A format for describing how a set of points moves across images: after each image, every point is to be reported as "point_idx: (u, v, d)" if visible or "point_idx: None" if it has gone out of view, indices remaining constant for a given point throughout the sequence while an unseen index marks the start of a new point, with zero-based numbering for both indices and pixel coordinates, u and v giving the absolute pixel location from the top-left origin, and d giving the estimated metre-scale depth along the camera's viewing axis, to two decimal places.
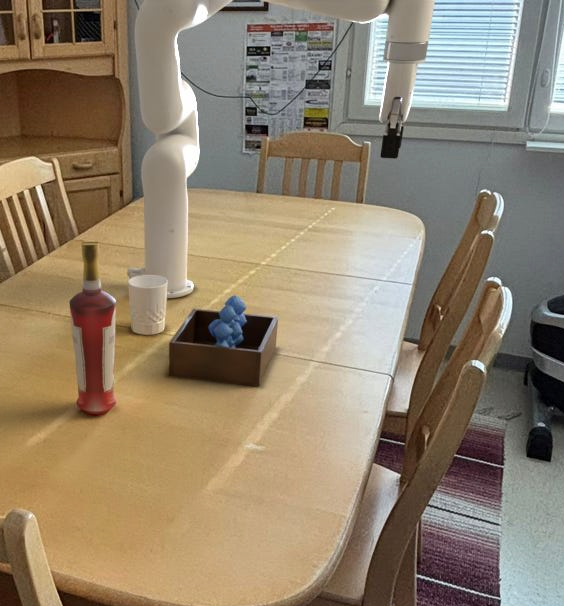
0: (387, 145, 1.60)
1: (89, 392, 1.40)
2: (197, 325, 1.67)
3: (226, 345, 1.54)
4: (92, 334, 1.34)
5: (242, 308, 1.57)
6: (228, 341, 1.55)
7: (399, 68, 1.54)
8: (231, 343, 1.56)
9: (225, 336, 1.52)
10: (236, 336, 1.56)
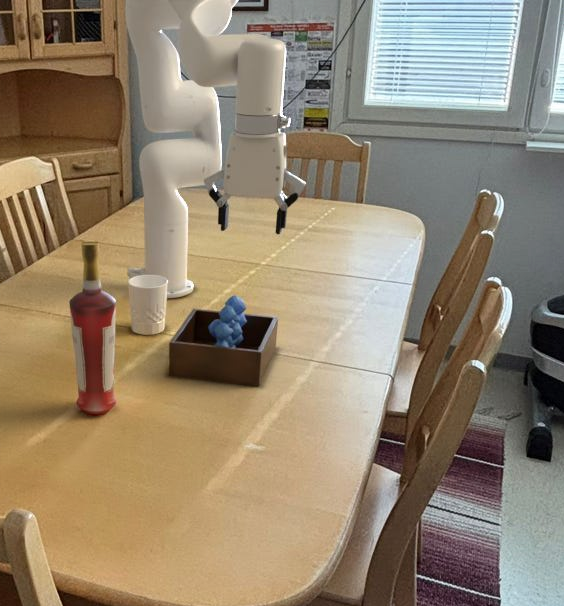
0: None
1: (89, 392, 1.40)
2: (197, 325, 1.67)
3: (226, 345, 1.54)
4: (92, 334, 1.34)
5: (242, 308, 1.57)
6: (228, 341, 1.55)
7: None
8: (231, 343, 1.56)
9: (225, 336, 1.52)
10: (236, 336, 1.56)
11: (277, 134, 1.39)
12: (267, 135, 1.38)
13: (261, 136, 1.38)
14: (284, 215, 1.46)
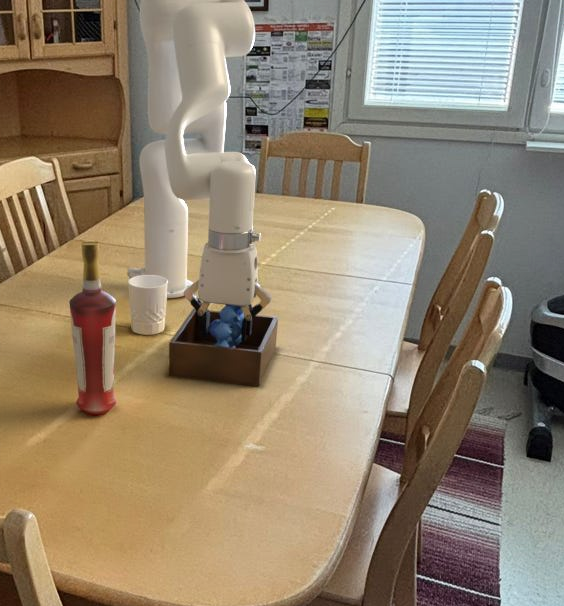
0: None
1: (89, 392, 1.40)
2: (197, 325, 1.67)
3: (226, 345, 1.54)
4: (92, 334, 1.34)
5: None
6: (228, 341, 1.55)
7: None
8: (231, 343, 1.56)
9: (225, 336, 1.52)
10: (236, 336, 1.56)
11: (248, 249, 1.47)
12: (238, 250, 1.45)
13: (232, 251, 1.45)
14: (249, 324, 1.54)
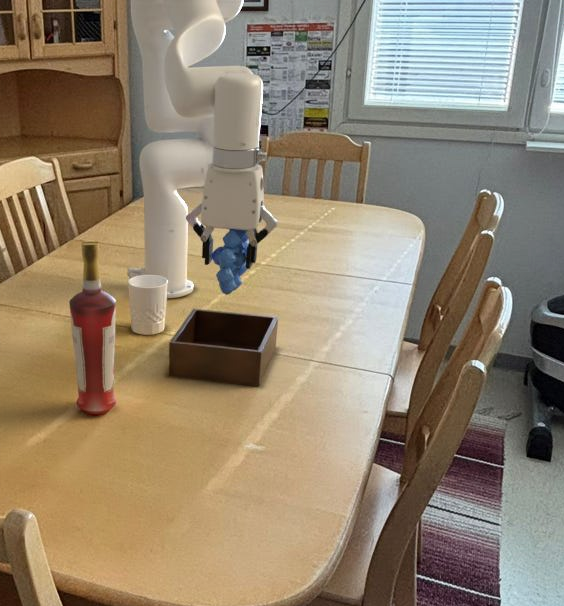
0: None
1: (89, 392, 1.40)
2: (197, 325, 1.67)
3: (230, 272, 1.47)
4: (92, 334, 1.34)
5: None
6: (232, 269, 1.49)
7: None
8: (235, 271, 1.50)
9: (229, 262, 1.46)
10: (240, 264, 1.49)
11: (254, 168, 1.40)
12: (243, 169, 1.39)
13: (237, 170, 1.39)
14: (254, 250, 1.48)
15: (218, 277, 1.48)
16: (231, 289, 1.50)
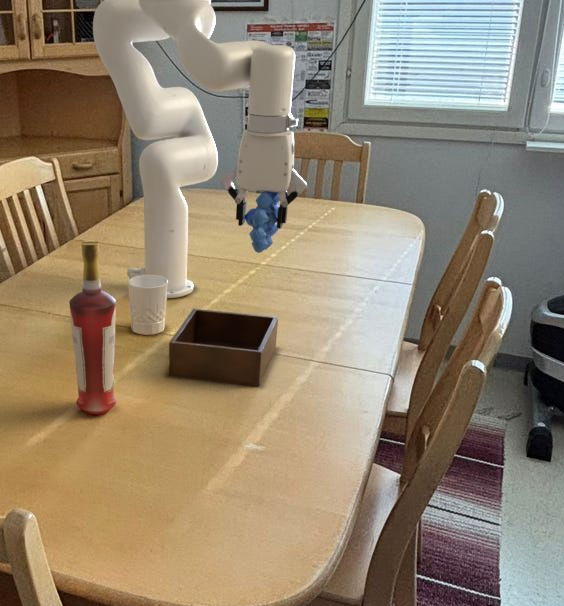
0: None
1: (89, 392, 1.40)
2: (197, 325, 1.67)
3: (262, 231, 1.59)
4: (92, 334, 1.34)
5: (278, 197, 1.62)
6: (264, 228, 1.60)
7: None
8: (267, 231, 1.62)
9: (262, 221, 1.58)
10: (272, 224, 1.61)
11: (286, 133, 1.52)
12: (276, 134, 1.51)
13: (271, 135, 1.51)
14: (285, 211, 1.60)
15: (251, 235, 1.60)
16: (263, 247, 1.62)
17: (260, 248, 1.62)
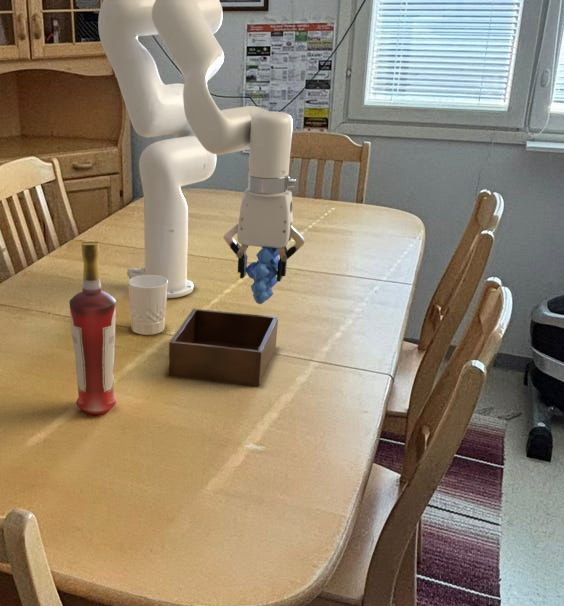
0: None
1: (89, 392, 1.40)
2: (197, 325, 1.67)
3: (263, 284, 1.67)
4: (92, 334, 1.34)
5: (277, 251, 1.70)
6: (265, 281, 1.68)
7: None
8: (267, 283, 1.69)
9: (263, 275, 1.66)
10: (272, 277, 1.69)
11: (284, 193, 1.60)
12: (275, 194, 1.59)
13: (270, 195, 1.59)
14: (284, 265, 1.68)
15: (253, 288, 1.67)
16: (264, 299, 1.70)
17: (261, 300, 1.69)
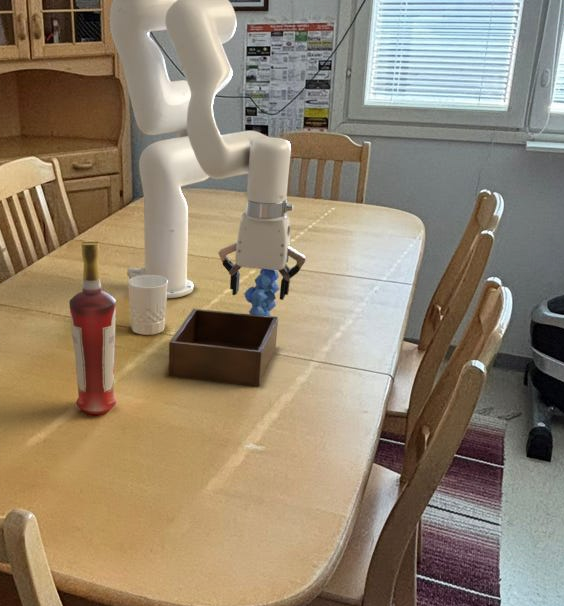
0: None
1: (89, 392, 1.40)
2: (197, 325, 1.67)
3: (261, 309, 1.70)
4: (92, 334, 1.34)
5: (275, 276, 1.73)
6: (263, 306, 1.71)
7: None
8: (265, 308, 1.72)
9: (261, 301, 1.68)
10: (270, 301, 1.72)
11: (282, 217, 1.63)
12: (273, 219, 1.61)
13: (268, 220, 1.61)
14: (287, 284, 1.70)
15: (251, 313, 1.70)
16: None
17: None
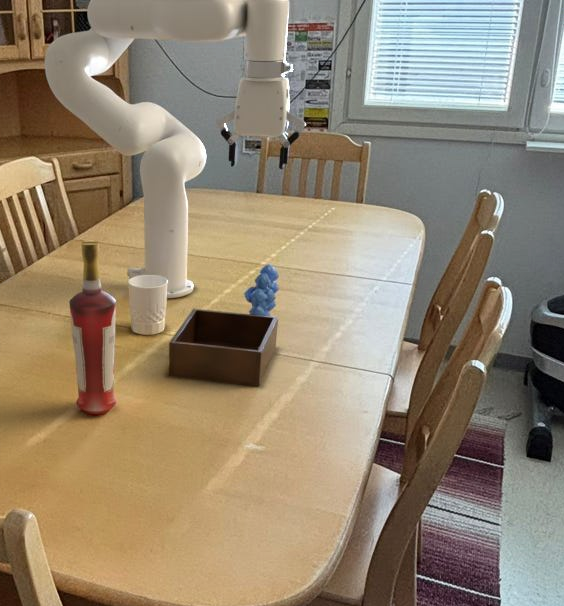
0: None
1: (89, 392, 1.40)
2: (197, 325, 1.67)
3: (261, 309, 1.70)
4: (92, 334, 1.34)
5: (275, 276, 1.73)
6: (263, 306, 1.71)
7: None
8: (265, 308, 1.72)
9: (261, 301, 1.68)
10: (270, 301, 1.72)
11: (281, 78, 1.60)
12: (272, 79, 1.59)
13: (267, 79, 1.58)
14: (286, 152, 1.67)
15: (251, 313, 1.70)
16: None
17: None
